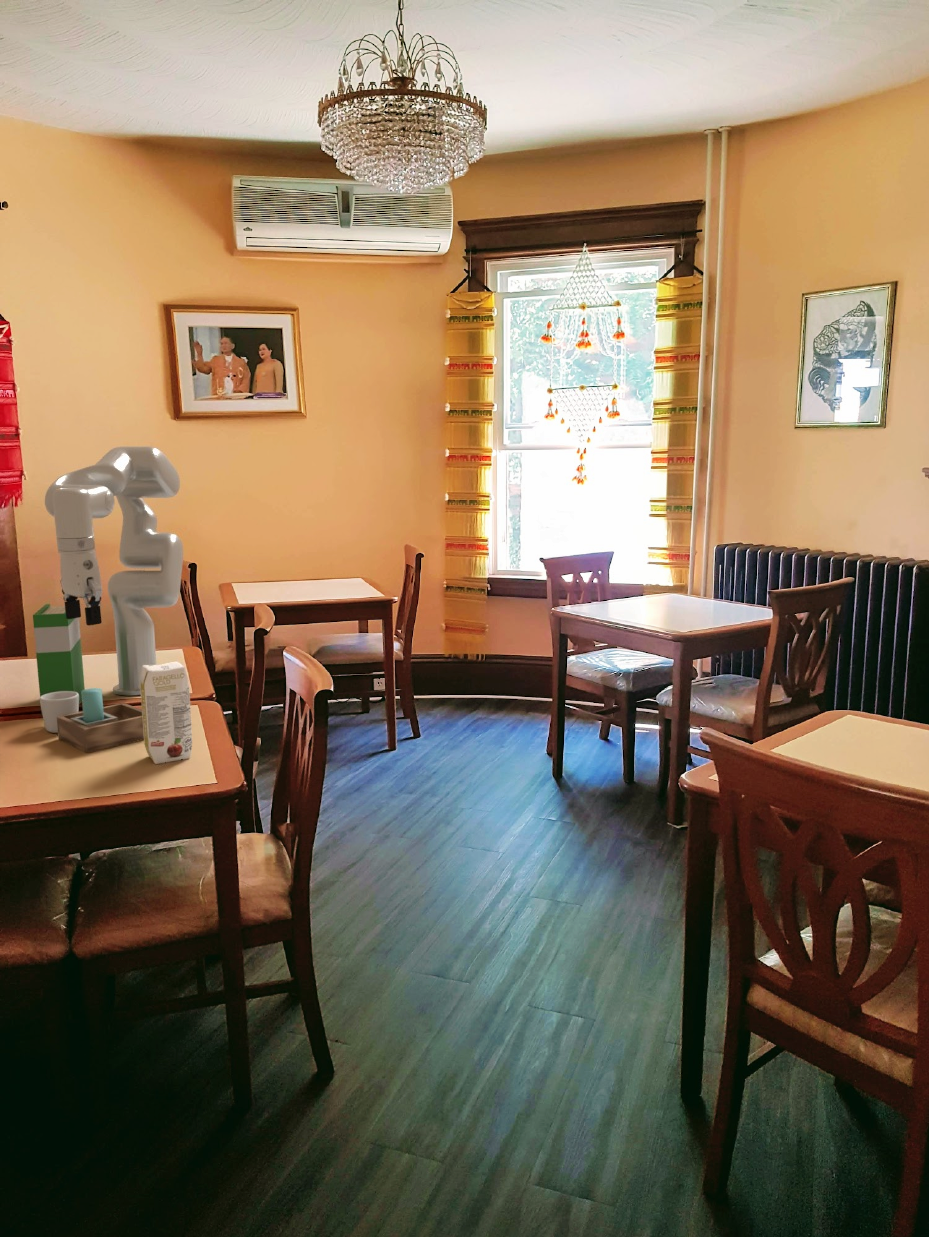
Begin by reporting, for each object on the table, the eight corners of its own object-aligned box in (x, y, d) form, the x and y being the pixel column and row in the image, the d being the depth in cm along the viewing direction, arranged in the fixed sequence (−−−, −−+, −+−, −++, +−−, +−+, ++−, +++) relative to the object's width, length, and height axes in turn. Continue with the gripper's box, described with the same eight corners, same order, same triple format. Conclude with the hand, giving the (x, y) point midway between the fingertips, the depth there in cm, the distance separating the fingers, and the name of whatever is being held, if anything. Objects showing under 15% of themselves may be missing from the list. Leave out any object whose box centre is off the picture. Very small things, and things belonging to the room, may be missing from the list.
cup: (31, 727, 196) (28, 693, 194) (67, 720, 201) (64, 687, 200) (51, 737, 188) (48, 702, 187) (87, 729, 194) (84, 695, 193)
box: (125, 724, 198) (123, 702, 197) (155, 736, 189) (154, 714, 188) (58, 738, 187) (56, 716, 186) (87, 753, 178) (85, 729, 177)
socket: (104, 729, 191) (102, 711, 190) (118, 735, 186) (117, 717, 186) (72, 736, 186) (70, 718, 185) (86, 743, 181) (85, 724, 181)
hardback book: (53, 696, 223) (45, 604, 219) (85, 694, 225) (77, 602, 221) (41, 714, 206) (32, 615, 202) (75, 712, 208) (67, 613, 204)
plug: (100, 731, 189) (96, 687, 187) (108, 735, 186) (105, 690, 185) (81, 736, 186) (78, 690, 184) (90, 739, 183) (86, 694, 182)
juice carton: (195, 758, 174) (190, 666, 171) (151, 766, 170) (145, 672, 167) (185, 748, 181) (180, 659, 177) (142, 756, 176) (136, 664, 173)
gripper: (111, 546, 187) (118, 624, 190) (75, 540, 198) (82, 613, 202) (77, 550, 181) (85, 630, 185) (41, 543, 193) (49, 618, 196)
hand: (83, 621), depth 193 cm, fingers open, 9 cm apart
